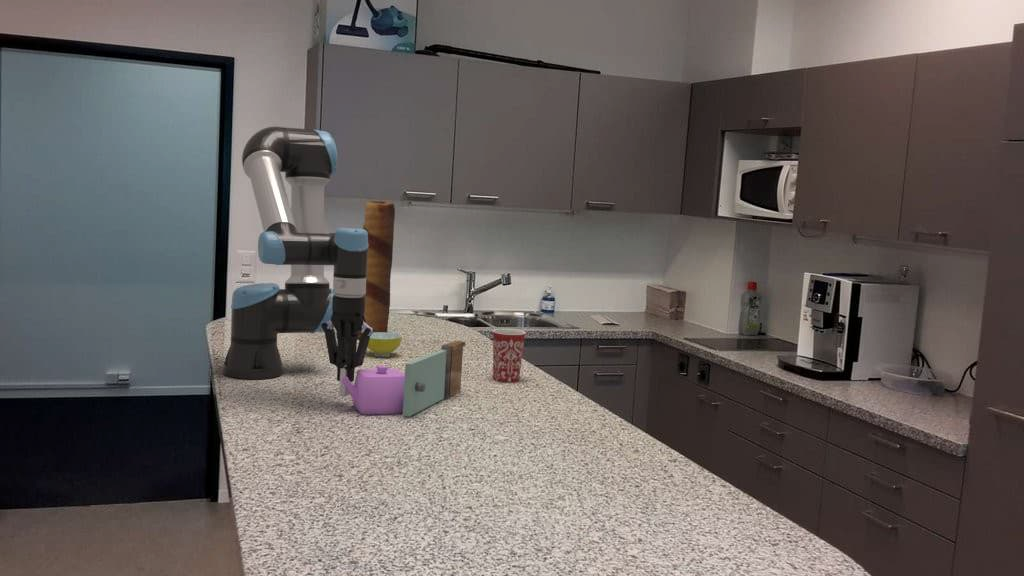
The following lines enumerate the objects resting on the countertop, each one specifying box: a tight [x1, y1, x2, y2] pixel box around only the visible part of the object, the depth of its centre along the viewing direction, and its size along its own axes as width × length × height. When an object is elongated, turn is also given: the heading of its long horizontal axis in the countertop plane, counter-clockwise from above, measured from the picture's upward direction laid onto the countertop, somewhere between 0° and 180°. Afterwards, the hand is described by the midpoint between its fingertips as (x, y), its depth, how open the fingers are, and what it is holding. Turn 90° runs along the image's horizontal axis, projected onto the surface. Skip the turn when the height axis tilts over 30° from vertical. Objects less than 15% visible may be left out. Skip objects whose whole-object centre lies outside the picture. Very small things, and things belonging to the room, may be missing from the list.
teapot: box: [341, 364, 405, 416], centre depth 213 cm, size 18×10×10 cm, turn 112°
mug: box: [492, 328, 527, 383], centre depth 255 cm, size 13×9×14 cm
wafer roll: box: [358, 200, 396, 340], centre depth 300 cm, size 10×11×45 cm
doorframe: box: [440, 340, 466, 400], centre depth 231 cm, size 3×10×13 cm, turn 161°
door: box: [402, 349, 446, 417], centre depth 216 cm, size 20×3×12 cm, turn 161°
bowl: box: [367, 332, 403, 358], centre depth 276 cm, size 11×12×6 cm
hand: (344, 395), depth 216 cm, fingers closed
